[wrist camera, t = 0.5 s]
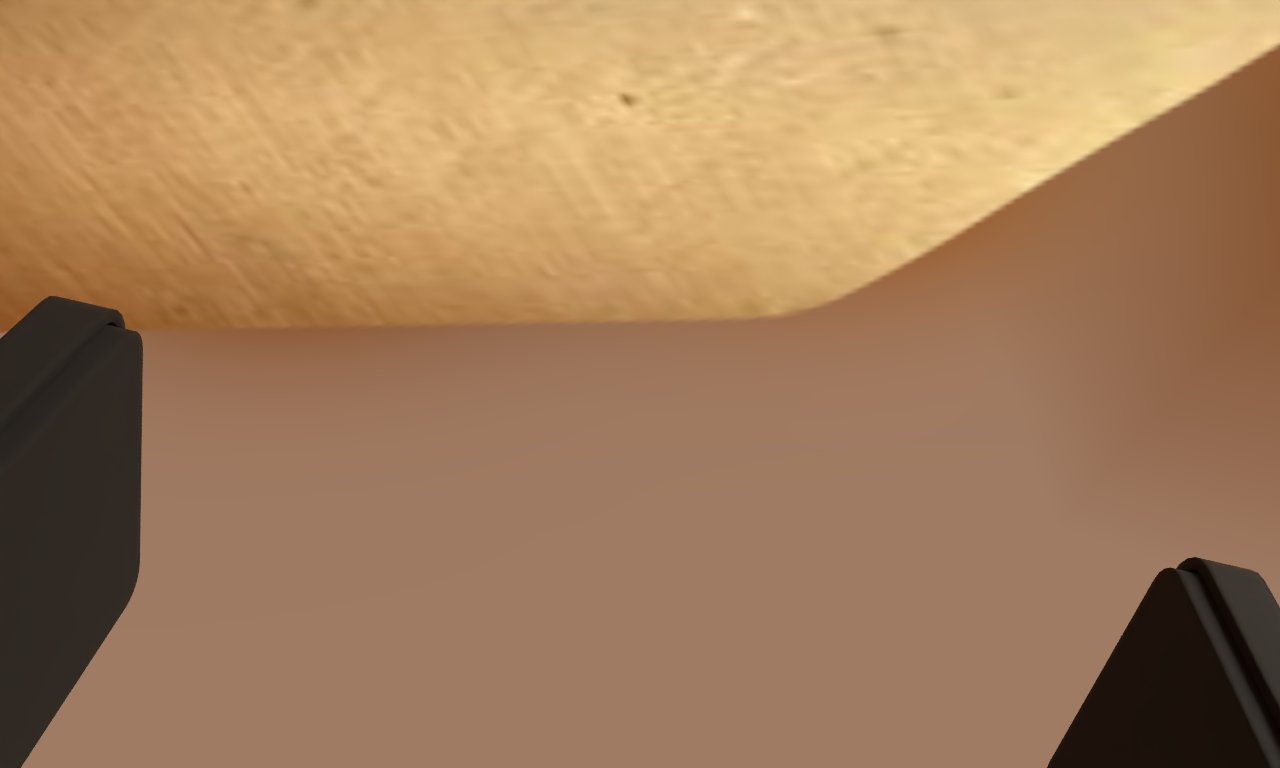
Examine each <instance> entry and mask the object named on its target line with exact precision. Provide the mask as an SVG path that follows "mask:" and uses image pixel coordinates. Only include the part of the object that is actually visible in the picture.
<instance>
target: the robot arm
mask: <svg viewBox="0 0 1280 768" xmlns="http://www.w3.org/2000/svg"><path fill="white" fill-rule="evenodd" d="M142 361H143V346H142V339H141V336H140V334H139V333H138V332H136V331H132V330H128V329H125V323H124V320H123V317H122V314H121V313H119V312H118V311H117V310H114V309H109V308H105V307H101V306H96V305H92V304H88V303H83V302H79V301H75V300H70V299H66V298H61V297H57V296H49V297H48V298H46V299H44V300H43V301H41V302H40V303H39V304H38V305H37V306H36V307H35V308H34V309H33V310H31V311H30V312H29V313H28V314H27V315H26V316H25V317H24V318H23V319H22V320H20V321H19V322H18V323H17V324H16V325H15V326H14V327H13V328H12V329H11V330H9V331H8V332H7V333H6V334H5V335H4V336H3V337H2V338H1V339H0V768H21V766H22V765H23V763H24V762H25V760H26V759H27V757H28V756H29V754H30V753H31V751H32V750H33V748H34V747H35V745H36V743H37V742H38V740H39V739H40V737H41V736H42V734H43V733H44V731H45V730H46V728H47V727H48V725H49V724H50V722H51V721H52V719H53V718H54V716H55V714H56V713H57V711H58V710H59V708H60V707H61V705H62V704H63V702H64V701H65V699H66V698H67V696H68V695H69V693H70V692H71V690H72V689H73V687H74V685H75V684H76V682H77V681H78V679H79V678H80V676H81V675H82V673H83V672H84V670H85V669H86V667H87V666H88V664H89V662H90V661H91V660H92V658H93V656H94V655H95V653H96V652H97V650H98V649H99V647H100V646H101V644H102V643H103V641H104V640H105V638H106V637H107V635H108V634H109V632H110V631H111V629H112V627H113V626H114V624H115V623H116V621H117V620H118V618H119V617H120V615H121V614H122V612H123V611H124V609H125V608H126V606H127V604H128V602H129V600H130V598H131V596H132V593H133V591H134V588H135V585H136V582H137V578H138V573H139V564H140V510H141V506H140V505H141V437H142V368H143V366H142V365H143V362H142ZM1047 768H1280V607H1279V605H1278V604H1277V602H1276V600H1275V598H1274V597H1273V595H1272V593H1271V591H1270V589H1269V588H1268V586H1267V584H1266V582H1265V581H1264V579H1263V578H1262V577H1261V576H1260V575H1259V574H1258V573H1257V572H1254V571H1252V570H1249V569H1245V568H1240V567H1236V566H1231V565H1227V564H1222V563H1218V562H1214V561H1210V560H1205V559H1201V558H1197V557H1194V558H1188V559H1186V560H1185V561H1183V562H1182V563H1181V564H1179V566H1178V567H1177V568H1176V569H1174V568H1166V569H1164V570H1162V571H1161V572H1159V574H1158V575H1157V576H1156V578H1155V579H1154V581H1153V582H1152V584H1151V586H1150V588H1149V589H1148V591H1147V593H1146V595H1145V596H1144V598H1143V600H1142V602H1141V603H1140V605H1139V607H1138V609H1137V610H1136V612H1135V614H1134V616H1133V618H1132V619H1131V621H1130V622H1129V624H1128V626H1127V628H1126V629H1125V631H1124V633H1123V635H1122V636H1121V638H1120V640H1119V642H1118V643H1117V645H1116V647H1115V649H1114V650H1113V652H1112V654H1111V656H1110V658H1109V659H1108V661H1107V663H1106V665H1105V666H1104V668H1103V670H1102V671H1101V673H1100V675H1099V677H1098V678H1097V680H1096V682H1095V684H1094V685H1093V687H1092V689H1091V691H1090V692H1089V694H1088V696H1087V698H1086V699H1085V701H1084V703H1083V704H1082V706H1081V708H1080V710H1079V712H1078V713H1077V715H1076V717H1075V719H1074V720H1073V722H1072V724H1071V725H1070V727H1069V729H1068V731H1067V733H1066V734H1065V736H1064V738H1063V739H1062V741H1061V743H1060V745H1059V747H1058V748H1057V750H1056V752H1055V754H1054V755H1053V757H1052V759H1051V760H1050V762H1049V764H1048V767H1047Z"/></svg>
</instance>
